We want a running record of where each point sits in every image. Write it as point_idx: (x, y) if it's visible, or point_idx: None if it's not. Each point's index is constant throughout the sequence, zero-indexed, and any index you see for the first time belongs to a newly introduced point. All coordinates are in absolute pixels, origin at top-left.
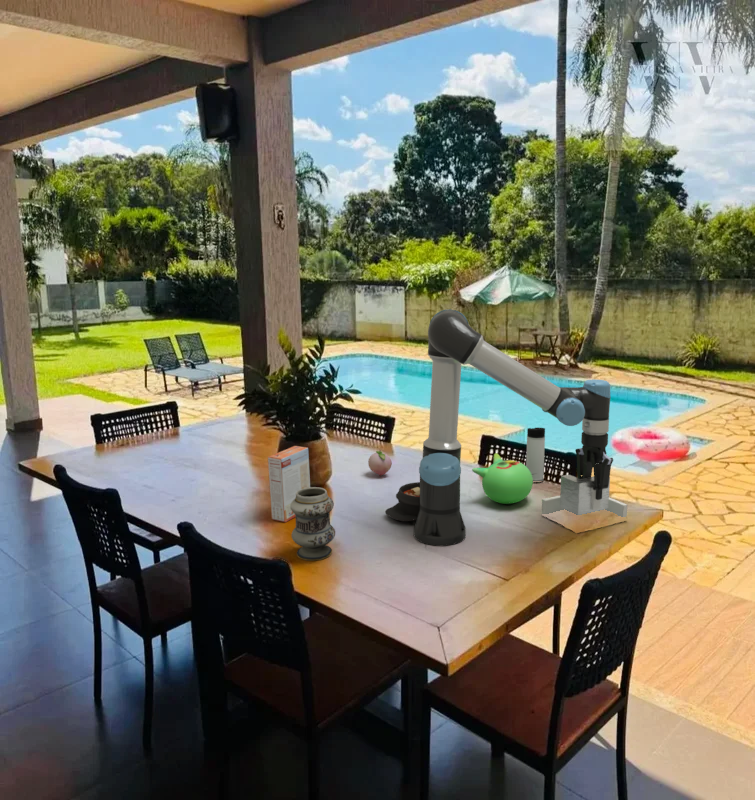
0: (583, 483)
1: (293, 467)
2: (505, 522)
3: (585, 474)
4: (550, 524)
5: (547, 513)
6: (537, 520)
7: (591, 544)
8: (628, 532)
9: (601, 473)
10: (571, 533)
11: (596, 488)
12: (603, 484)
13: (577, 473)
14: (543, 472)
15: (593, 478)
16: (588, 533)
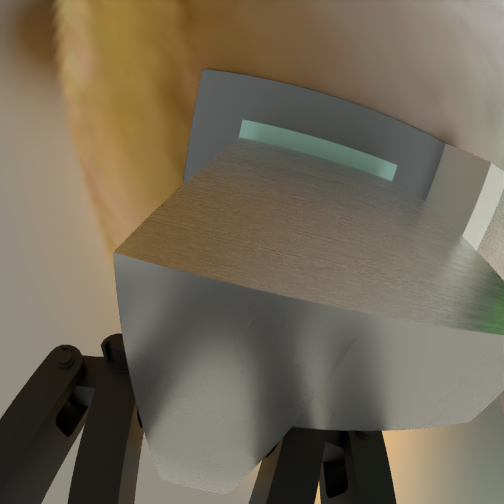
0: (131, 330)
1: None
2: (491, 5)
3: (272, 493)
4: (375, 77)
5: (442, 160)
6: (441, 87)
7: (104, 45)
8: (106, 251)
9: (5, 471)
10: (229, 54)
11: (104, 350)
12: (36, 381)
13: (388, 470)
14: (499, 399)
15: (199, 462)
16: (176, 118)
